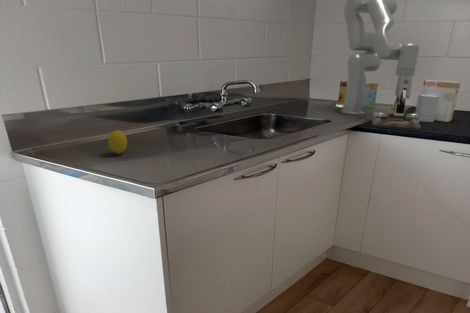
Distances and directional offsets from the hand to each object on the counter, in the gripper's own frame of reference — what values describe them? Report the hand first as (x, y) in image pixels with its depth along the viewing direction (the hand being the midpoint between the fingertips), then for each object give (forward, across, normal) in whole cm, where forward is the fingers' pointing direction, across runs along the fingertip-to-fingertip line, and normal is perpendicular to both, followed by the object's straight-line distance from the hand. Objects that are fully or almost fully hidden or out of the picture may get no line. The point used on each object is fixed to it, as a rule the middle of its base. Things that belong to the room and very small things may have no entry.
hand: (398, 111), depth 158 cm
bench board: (+6, 0, +1) cm, 6 cm away
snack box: (+6, +47, +16) cm, 50 cm away
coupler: (+1, 0, 0) cm, 1 cm away
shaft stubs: (+6, 0, +1) cm, 6 cm away
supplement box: (+6, +17, -15) cm, 24 cm away
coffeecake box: (+6, +22, -21) cm, 31 cm away
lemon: (+7, -82, +95) cm, 126 cm away
